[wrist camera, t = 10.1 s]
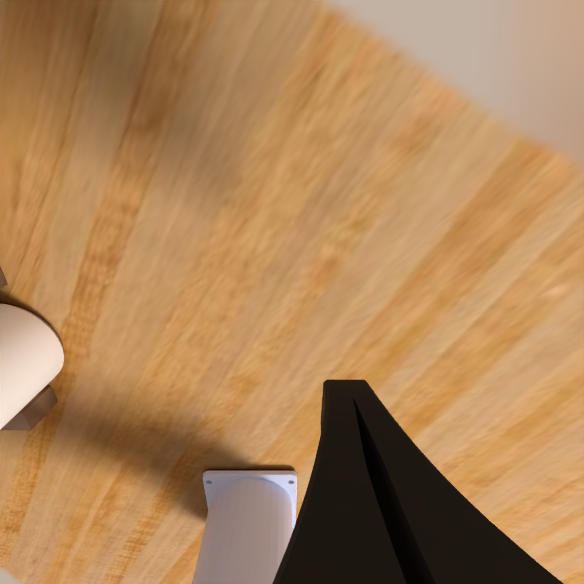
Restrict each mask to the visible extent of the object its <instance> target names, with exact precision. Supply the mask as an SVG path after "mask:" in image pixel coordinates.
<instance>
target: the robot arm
mask: <svg viewBox="0 0 584 584" xmlns="http://www.w3.org/2000/svg"><path fill="white" fill-rule="evenodd" d="M203 484H204V489H205V495H206V501H207V506H208V515H207V520H206V524H205V529H204V533H203V537H202V542H201V546H200V551H199V555H198V560H197V564H196V568H195V573H194V577H193V582H192V584H563V583H562V582H561V581H559V580H558V579H557V578H556V577H555V576H553V575H552V574H551V573H550V572H548V571H547V570H546V569H545V568H543V567H542V566H541V565H540V564H539V563H537V562H536V561H535V560H534V559H533V558H532V557H530V556H529V555H528V554H527V553H526V552H525V551H524V550H522V549H521V548H520V547H519V546H518V545H517V544H516V543H514V542H513V541H512V540H511V539H510V538H509V537H507V536H506V535H505V534H504V533H503V532H502V531H501V530H499V529H498V528H497V527H496V526H495V525H494V524H493V523H491V522H490V521H489V520H488V519H487V518H486V517H485V516H484V515H483V514H482V513H481V512H480V511H479V510H478V509H476V508H475V507H474V506H473V505H472V504H471V503H470V502H469V501H468V500H467V499H466V498H465V497H464V496H463V495H462V494H461V493H460V492H459V491H458V490H457V489H456V488H455V487H454V486H453V485H452V484H451V483H450V482H449V481H448V480H447V479H446V478H445V477H444V476H443V475H442V474H441V473H440V472H439V471H438V469H437V468H436V467H435V466H434V465H433V464H432V463H431V462H430V461H429V460H428V458H427V457H426V456H425V455H424V454H423V453H422V452H421V451H420V450H419V448H418V447H417V446H416V445H415V444H414V443H413V441H412V440H411V439H410V438H409V437H408V435H407V434H406V433H405V432H404V430H403V429H402V428H401V427H400V426H399V424H398V423H397V422H396V421H395V419H394V418H393V417H392V416H391V414H390V413H389V412H388V410H387V409H386V408H385V406H384V405H383V404H382V402H381V401H380V400H379V398H378V397H377V395H376V394H375V393H374V391H373V390H372V388H371V387H370V386H369V384H368V383H367V382H366V381H365V380H326V381H325V382H324V384H323V398H322V411H321V437H320V441H319V446H318V450H317V454H316V458H315V463H314V466H313V470H312V474H311V477H310V481H309V484H308V487H307V491H306V494H305V497H304V500H303V503H302V506H301V509H300V512H299V515H298V518H297V521H296V494H297V473H296V472H295V471H205V472H204V473H203Z"/></svg>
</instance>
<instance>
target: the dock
mask: <svg viewBox="0 0 584 584" xmlns="http://www.w3.org/2000/svg"><path fill="white" fill-rule="evenodd" d="M6 285H7V282H6V280H5V278H4V275H3V273H2V271H1V268H0V288H2V287H4V286H6ZM56 403H57V399H56V397H55V395H54V392H53V390H52V388H51V386H45V387H44V388H43V389H42V390H41V391H40V392H39V393H38V394H37V395H36V396H35V397H34V398H33V399H32V400H31V401H30V402H29V403H28V404H27V405H26V406H25V407H24V408H23V409H21V410H20V411H19V412H18V413H17V414H16V415H15V416H14V417H13V418H12V419H11V420H10V421H9V422H8V423H7V424H6V425H5V426H4V427H3V428H2V429H1V430H31V429H32V428H33V427H34V426H35V425H36V424H37V423H38V422H39V421H40V420H41V419H42V418H43V417H44V416H45V415H46V413H47V412H48V411H49V410H50V409H51V408H52V407H53V406H54V405H55V404H56Z"/></svg>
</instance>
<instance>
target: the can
mask: <svg viewBox="0 0 584 584" xmlns="http://www.w3.org/2000/svg"><path fill="white" fill-rule="evenodd" d="M63 363H64V352H63V346H62V343H61V340H60V338H59V337H58V335H57V333H56V332H55V331H54V330H53V328H52V327H51V326H50V325H49V324H48V323H47V322H45V321H44V320H43V319H42V318H40V317H39V316H37V315H36V314H34V313H32V312H30V311H28V310H26V309H23V308H20V307H17V306H13V305H7V304H1V303H0V430H1V429H2V428H3V427H4V426H5V425H6V424H7V423H8V422H9V421H10V420H11V419H12V418H13V417H14V416H15V415H16V414H17V413H18V412H19V411H20V410H21V409H23V408H24V407H25V406H26V405H27V404H28V403H29V402H30V401H31V400H32V399H33V398H34V397H35V396H36V395H37V394H38V393H39V392H40V391H41V390H42V389H43V388H44V387H45V386H46V385H47V384H48V383H49V382H50V381H52V380H53V378H54V377H55V376H56V375H57V374H58V373H59V372H60V370H61V369H62V366H63Z"/></svg>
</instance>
